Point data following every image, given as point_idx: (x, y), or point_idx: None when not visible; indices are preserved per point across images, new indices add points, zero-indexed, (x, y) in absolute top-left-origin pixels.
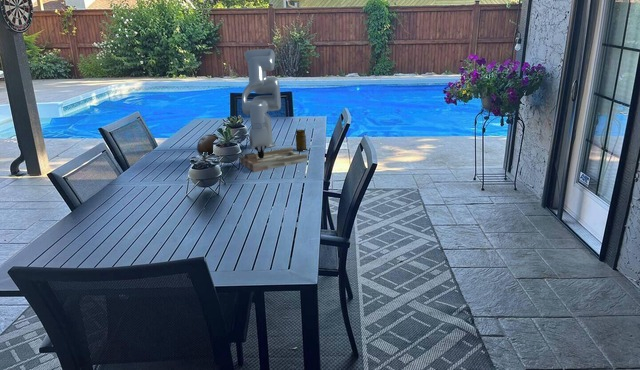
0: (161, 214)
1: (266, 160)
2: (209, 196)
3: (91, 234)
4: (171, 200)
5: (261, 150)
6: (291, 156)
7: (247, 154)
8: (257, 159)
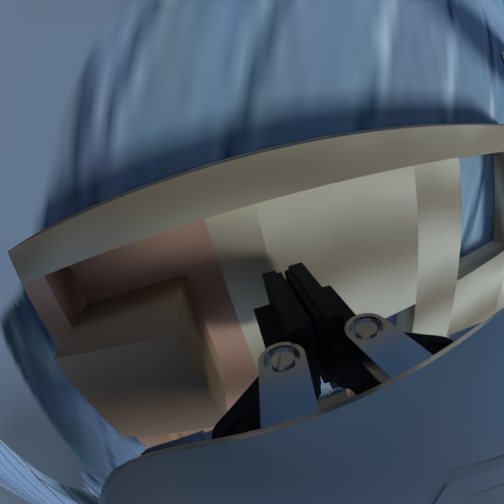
0: (49, 498)
1: None
2: (91, 500)
3: (10, 485)
4: (23, 475)
5: (336, 382)
6: (484, 281)
7: (97, 384)
8: (234, 285)
